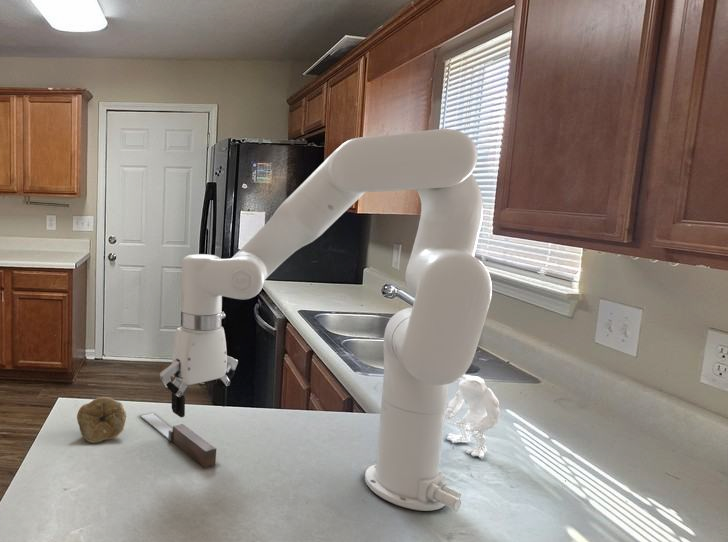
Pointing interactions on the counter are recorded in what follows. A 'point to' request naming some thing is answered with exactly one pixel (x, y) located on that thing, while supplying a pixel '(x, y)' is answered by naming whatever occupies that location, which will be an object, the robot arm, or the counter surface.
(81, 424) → the fossil
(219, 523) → the counter surface
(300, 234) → the robot arm
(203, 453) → the knife
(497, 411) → the figurine
